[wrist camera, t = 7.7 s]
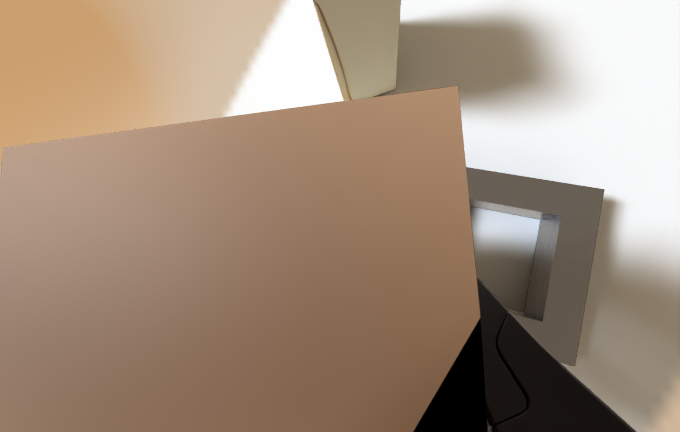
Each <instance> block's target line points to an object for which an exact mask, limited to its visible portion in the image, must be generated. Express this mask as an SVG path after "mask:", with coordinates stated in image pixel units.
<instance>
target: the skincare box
mask: <svg viewBox="0 0 680 432" xmlns="http://www.w3.org/2000/svg"><path fill="white" fill-rule="evenodd" d="M313 3H314V6H315V9H316V12H317V16H318V19H319V22H320V26H321V29H322V32H323V35H324V39H325V42H326V45H327V48H328V52H329V55H330V58H331V61H332V65H333V68H334V71H335V74H336V77H337V81H338V84H339V87H340V90H341V93H342V97H343V100H344V101H349V100H356V99H364V98H371V97H374V96H377V95H380V94H383V93H386V92H389V91H392V90H394V89H395V88H396V78H397V60H398V43H399V25H400V5H401V0H313Z"/></svg>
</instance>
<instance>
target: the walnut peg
mask: <svg viewBox="0 0 680 432" xmlns="http://www.w3.org/2000/svg"><path fill="white" fill-rule="evenodd" d="M0 432H488V425H487V409H486V394H485V379H484V363H483V348H482V333H481V318H480V307H479V297H478V287H477V276H476V266H475V256H474V245H473V235H472V225H471V215H470V204H469V194H468V184H467V173H466V163H465V153H464V143H463V132H462V122H461V112H460V101H459V91H458V86H452V87H445V88H437V89H430V90H422V91H415V92H408V93H400V94H393V95H386V96H378V97H371V98H364V99H356V100H349V101H341V102H334V103H327V104H319V105H312V106H305V107H297V108H290V109H283V110H275V111H268V112H260V113H253V114H246V115H238V116H231V117H224V118H216V119H209V120H202V121H195V122H187V123H179V124H172V125H165V126H157V127H150V128H144V129H135V130H129V131H121V132H114V133H107V134H98V135H92V136H85V137H76V138H70V139H62V140H54V141H47V142H40V143H32V144H25V145H18V146H10V147H3V152H2V162H1V173H0Z"/></svg>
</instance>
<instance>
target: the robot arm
mask: <svg viewBox="0 0 680 432" xmlns="http://www.w3.org/2000/svg"><path fill="white" fill-rule="evenodd" d="M477 287H478V297H479V307H480V318H481V333H482V348H483V363H484V379H485V394H486V409H487V425H488V432H636V431H635V430H634V429H633V428H632V427H631V426H630V425H628V424H627V423H626V422H625V421H624V420H623V419H622V418H621V417H620V416H618V415H617V414H616V413H615V412H614V411H613V410H612V409H611V408H610V407H608V406H607V405H606V404H605V403H604V402H603V401H602V400H601V399H600V398H598V397H597V396H596V395H595V394H594V393H593V392H592V391H591V390H590V389H589V388H587V387H586V386H585V385H584V384H583V383H582V382H581V381H580V380H579V379H577V378H576V377H575V376H574V375H573V374H572V373H571V372H570V371H569V370H567V369H566V368H565V367H564V366H563V365H562V364H561V363H560V362H559V361H558V360H557V359H556V358H555V357H554V356H552V355H551V354H550V353H549V352H548V351H547V350H546V349H545V348H544V347H543V346H542V345H541V344H540V343H539V342H538V341H537V340H536V339H535V338H534V337H533V336H532V335H531V334H530V333H529V332H528V331H527V330H526V329H525V328H524V327H523V326H522V324H521V323H520V322H519V321H518V320H517V319H516V318H515V317H514V316H513V315H512V314H511V313H510V312H509V313H508V309H507V308H506V307H505V306H504V305H503V304H502V303H501V302H500V301H499V300H498V299H497V298H496V296H495V295H494V294H493V293H492V292H491V291H490V290H489V289H488V288H487V287H486V286H485V285H484V283H483V282H482V281H481V280H480V279H479V278H478V277H477Z"/></svg>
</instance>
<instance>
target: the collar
mask: <svg viewBox="0 0 680 432" xmlns="http://www.w3.org/2000/svg"><path fill="white" fill-rule="evenodd" d="M466 173H467V184H468V194H469V204H470V206H471V207H476V208H482V209H487V210H493V211H498V212H503V213H509V214H514V215H519V216H525V217H530V218H536V219H541V221H540V226H539V232H538V237H537V243H536V248H535V254H534V260H533V265H532V271H531V276H530V282H529V288H528V293H527V299H526V304H525V310H524V312H520V311H516V310H512V309H508V308H507V309H508V313H509V312H510V313H511V314H512V315H513V316H514V317H515V318H516V319H517V320H518V321H519V322H520V323H521V324H522V326H523V327H524V328H525V329H526V330H527V331H528V332H529V333H530V334H531V335H532V336H533V337H534V338H535V339H536V340H537V341H538V342H539V343H540V344H541V345H542V346H543V347H544V348H545V349H546V350H547V351H548V352H549V353H550V354H551V355H552V356H554V357H555V358H556V359H557V360H558V361H559V362H561V363H564V364H568V365H572V366H575V363H576V357H577V351H578V345H579V339H580V333H581V327H582V321H583V315H584V309H585V303H586V297H587V291H588V285H589V279H590V273H591V267H592V261H593V255H594V249H595V243H596V237H597V231H598V225H599V219H600V213H601V207H602V201H603V195H604V189H598V188H592V187H586V186H579V185H573V184H567V183H561V182H555V181H548V180H542V179H536V178H530V177H524V176H517V175H511V174H505V173H499V172H492V171H486V170H480V169H474V168H468V167H466Z"/></svg>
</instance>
